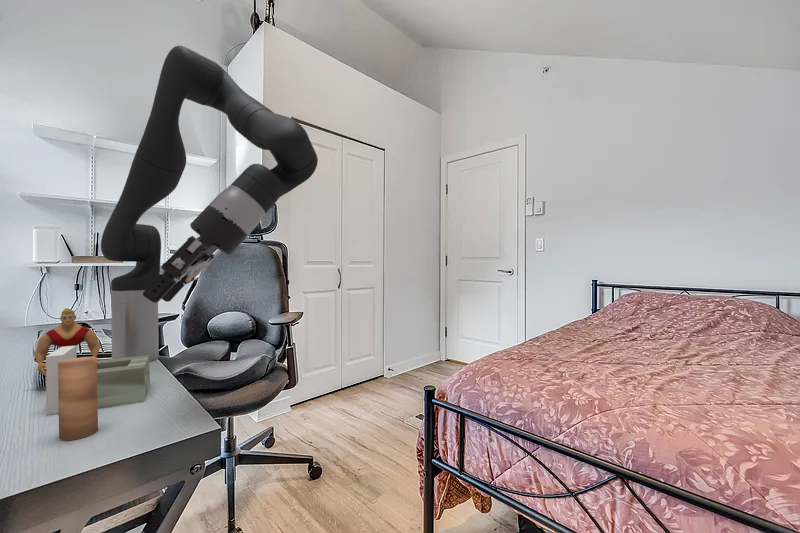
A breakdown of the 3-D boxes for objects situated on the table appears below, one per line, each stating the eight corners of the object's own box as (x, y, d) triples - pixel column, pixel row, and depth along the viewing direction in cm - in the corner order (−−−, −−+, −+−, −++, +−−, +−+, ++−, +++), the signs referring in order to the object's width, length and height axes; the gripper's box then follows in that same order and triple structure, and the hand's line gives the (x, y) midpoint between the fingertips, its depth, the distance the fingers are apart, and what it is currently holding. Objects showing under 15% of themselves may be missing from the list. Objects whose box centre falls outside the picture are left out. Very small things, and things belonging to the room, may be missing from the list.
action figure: (32, 393, 66) (31, 310, 66) (35, 388, 69) (34, 308, 69) (100, 382, 72) (99, 306, 72) (100, 378, 75) (99, 305, 75)
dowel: (63, 431, 51) (62, 359, 51) (100, 424, 53) (99, 355, 53) (54, 443, 47) (53, 365, 47) (94, 435, 49) (93, 361, 49)
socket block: (82, 395, 66) (82, 362, 66) (149, 386, 70) (149, 355, 70) (65, 415, 57) (65, 376, 57) (144, 402, 62) (143, 367, 62)
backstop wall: (61, 398, 63) (61, 346, 63) (76, 396, 64) (76, 345, 64) (46, 414, 56) (45, 356, 56) (63, 412, 57) (63, 354, 57)
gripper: (213, 213, 66) (145, 285, 61) (205, 193, 53) (117, 282, 48) (248, 240, 68) (185, 311, 63) (249, 226, 55) (168, 315, 50)
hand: (155, 299), depth 55 cm, fingers open, 8 cm apart
